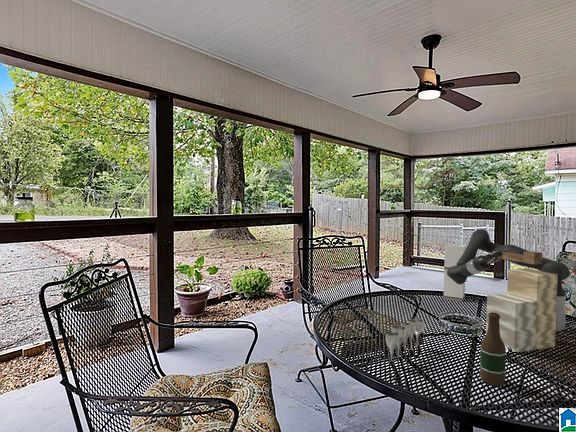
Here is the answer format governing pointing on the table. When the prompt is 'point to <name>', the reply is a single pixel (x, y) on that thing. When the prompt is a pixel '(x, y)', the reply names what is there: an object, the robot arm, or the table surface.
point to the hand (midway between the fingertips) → (503, 252)
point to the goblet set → (404, 333)
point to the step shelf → (526, 310)
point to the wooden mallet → (523, 257)
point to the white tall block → (450, 287)
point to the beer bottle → (493, 354)
